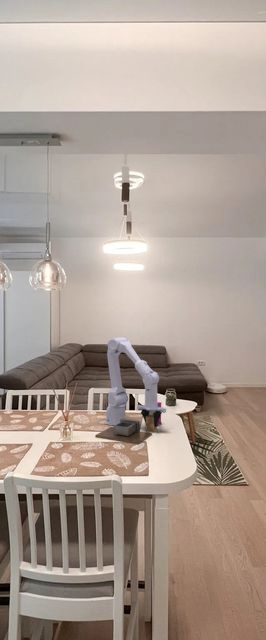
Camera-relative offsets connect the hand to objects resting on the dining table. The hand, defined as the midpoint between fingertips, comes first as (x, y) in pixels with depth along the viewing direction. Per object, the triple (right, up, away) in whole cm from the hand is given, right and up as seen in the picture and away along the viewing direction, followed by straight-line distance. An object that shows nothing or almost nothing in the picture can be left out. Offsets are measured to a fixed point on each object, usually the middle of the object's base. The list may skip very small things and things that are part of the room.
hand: (151, 426), depth 183 cm
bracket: (-13, -3, -7) cm, 15 cm away
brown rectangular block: (0, -2, 0) cm, 2 cm away
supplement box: (+1, -2, +9) cm, 10 cm away
